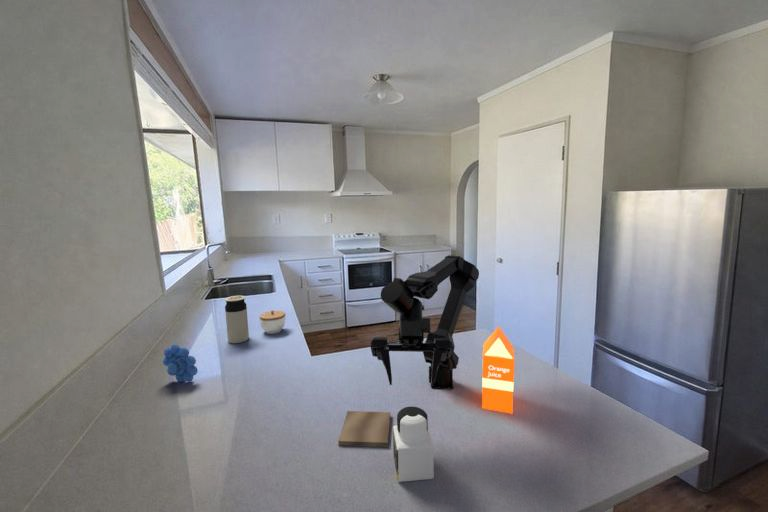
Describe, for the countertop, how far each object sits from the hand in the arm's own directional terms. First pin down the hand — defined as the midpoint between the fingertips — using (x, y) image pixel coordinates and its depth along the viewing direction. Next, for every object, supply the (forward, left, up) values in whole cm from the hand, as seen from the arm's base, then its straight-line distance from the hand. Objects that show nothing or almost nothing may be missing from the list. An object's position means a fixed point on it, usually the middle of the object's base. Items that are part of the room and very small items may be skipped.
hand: (411, 385), depth 72 cm
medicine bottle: (0, +7, -14) cm, 16 cm away
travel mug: (+71, -57, -14) cm, 92 cm away
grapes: (+72, -23, -14) cm, 77 cm away
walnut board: (+11, -4, -14) cm, 18 cm away
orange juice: (-23, -17, -14) cm, 32 cm away
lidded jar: (+60, -67, -14) cm, 91 cm away
